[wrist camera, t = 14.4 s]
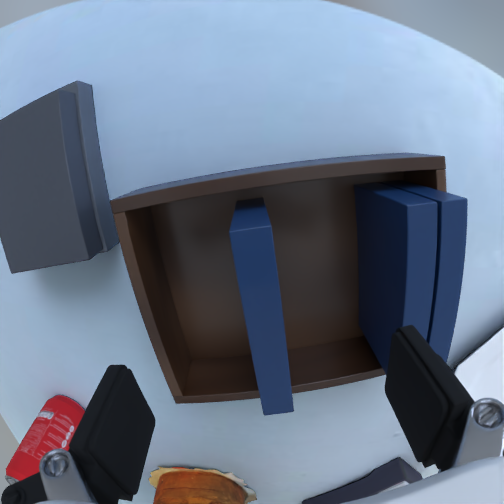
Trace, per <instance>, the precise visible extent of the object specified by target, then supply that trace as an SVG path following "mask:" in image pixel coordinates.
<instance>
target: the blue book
mask: <svg viewBox="0 0 504 504" xmlns="http://www.w3.org/2000/svg"><path fill="white" fill-rule="evenodd" d="M229 237H230V242H231V248H232V253H233V259H234V264H235V270H236V275H237V281H238V286H239V292H240V297H241V302H242V308H243V313H244V318H245V323H246V329H247V334H248V339H249V344H250V349H251V354H252V360H253V365H254V370H255V375H256V380H257V385H258V390H259V395H260V399H261V404H262V409H263V414H264V415H273V414H280V413H288V412H293V411H294V408H293V398H292V389H291V379H290V370H289V362H288V353H287V344H286V336H285V327H284V319H283V311H282V303H281V295H280V287H279V279H278V271H277V263H276V256H275V248H274V241H273V234H272V226H271V223H270V219H269V216H268V213H267V209H266V206H265V202H264V199H263V198H255V199H249V200H242V201H237V202H236V206H235V210H234V214H233V218H232V222H231V226H230V230H229Z"/></svg>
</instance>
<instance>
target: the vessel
mask: <svg viewBox="0 0 504 504" xmlns="http://www.w3.org/2000/svg"><path fill="white" fill-rule="evenodd" d="M158 467H159V468H160V469H158V470H155V471H153V472H151V473H150V474H151V476H152V477H150V478H149V481H150V484H151V485H153V486H154V487H155V489H156V493H155V497H154V502H153V504H247V503H248V502H251V501H254V500H257V498H256V493H255V492H254V491H253V490H252V489H249V488H246V487H243V486H245V485H248V484H245V483H243V482H244V480H242V479H238V478H237V477H236V476H235V475H234V474H233V473H232V472H231V473H225V474H222V473H221V472H220V471H218V470H203V469H199V468H194V470H193V469H187V468H183V467H171V468H162V467H161V466H158Z"/></svg>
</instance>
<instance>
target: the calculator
mask: <svg viewBox="0 0 504 504" xmlns="http://www.w3.org/2000/svg"><path fill="white" fill-rule="evenodd" d="M422 479H423V478H422V476H421V474H420V473H418V472H417V471H416V470H415V469H413V468H412V467H411V466H410V465H409V464H407V463H406V462H405V461H404V460H403V459H401V458H397V459H395V460H393V461H391V462H389V463H387V464H385V465H383V466H381V467H379V468H377V469H375V470H374V471H373V472H372V473H371V474H370V475H369V476H368V477H366V478H364V479H361V480H359V481H357V482H354V483H352V484H349V485H347V486H345V487H342V488H339V489H337V490H334V491H331V492H329V493H326V494H323V495H320V496H317V497H314V498H311V499H308V500H305V501H302V504H341V503H345V502H350V501H354V500H358V499H362V498H366V497H369V496H373V495H376V494H380V493H383V492H386V491H389V490H393V489H396V488H399V487H402V486H405V485H408V484H411V483H414V482H417V481H419V480H422Z"/></svg>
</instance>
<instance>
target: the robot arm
mask: <svg viewBox="0 0 504 504" xmlns="http://www.w3.org/2000/svg"><path fill="white" fill-rule="evenodd" d="M385 393H386V396H387V398H388V400H389V402H390V404H391V406H392V408H393V410H394V412H395V415H396V417H397V419H398V421H399V423H400V425H401V427H402V429H403V431H404V434H405V436H406V438H407V440H408V442H409V444H410V447H411V449H412V451H413V453H414V455H415V458H416V460H417V461H418V462H422V463H423V465H424V467H425V468H426V467H429V466H431V465H433V464H436V466H437V468H438V469H439V471H438V474H435V475H432V476H430V477H427V478H425V479H422V480H419V481H417V482H414V483H411V484H408V485H405V486H402V487H399V488H396V489H393V490H389V491H386V492H383V493H380V494H376V495H373V496H369V497H366V498H362V499H358V500H354V501H350V502H345V503H341V504H504V405H503V403H502V402H500V401H498V400H497V399H493V398H482V399H479V400H477V401H476V402H475V401H474V400H473V398H472V397H471V396H470V394H469V393H468V392H467V390H466V389H465V387H464V386H463V385H462V383H461V382H460V381H459V379H458V378H457V377H456V375H455V374H454V373H453V372H452V370H451V369H450V368H449V366H448V365H447V364H446V362H445V361H444V360H443V359H442V357H441V356H440V355H439V354H436V353H435V352H434V350H433V349H432V348H431V347H430V345H429V344H428V343H427V341H426V340H425V339H424V338H423V336H422V335H421V334H420V333H419V332H418V330H417V329H416V328H415V327H414V326H413V325H408V326H404V327H400V328H397V329H396V333H393V334H392V338H391V346H390V355H389V362H388V369H387V376H386V382H385ZM154 427H155V417H154V415H153V413H152V411H151V409H150V407H149V405H148V404H147V402H146V400H145V398H144V396H143V394H142V392H141V390H140V388H139V386H138V384H137V382H136V379H135V377H134V375H133V373H132V371H131V370H130V369H127V367H126V366H125V365H110V366H109V367H108V368H107V370H106V372H105V374H104V376H103V378H102V379H101V381H100V383H99V385H98V387H97V389H96V391H95V393H94V395H93V397H92V399H91V401H90V403H89V405H88V407H87V409H86V411H85V413H84V415H83V417H82V419H81V421H80V423H79V425H78V427H77V429H76V431H75V433H74V435H73V437H72V439H71V441H70V443H69V447H70V448H69V450H68V451H66V450H64V449H53V450H51V451H49V452H47V453H46V454H45V455H44V456H43V457H42V459H41V460H40V464H39V471H40V472H38V473H36V474H34V475H31V476H29V477H27V478H25V479H23V480H21V481H18V482H16V483H14V484H12V485H10V486H8V487H7V488H6V489H5V490H4V492H3V494H2V498H1V501H2V504H118V500H119V499H122V500H128V501H132V499H133V495H135V494H137V492H138V489H139V485H140V481H141V477H142V473H143V469H144V465H145V461H146V457H147V453H148V449H149V445H150V442H151V438H152V434H153V431H154Z"/></svg>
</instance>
